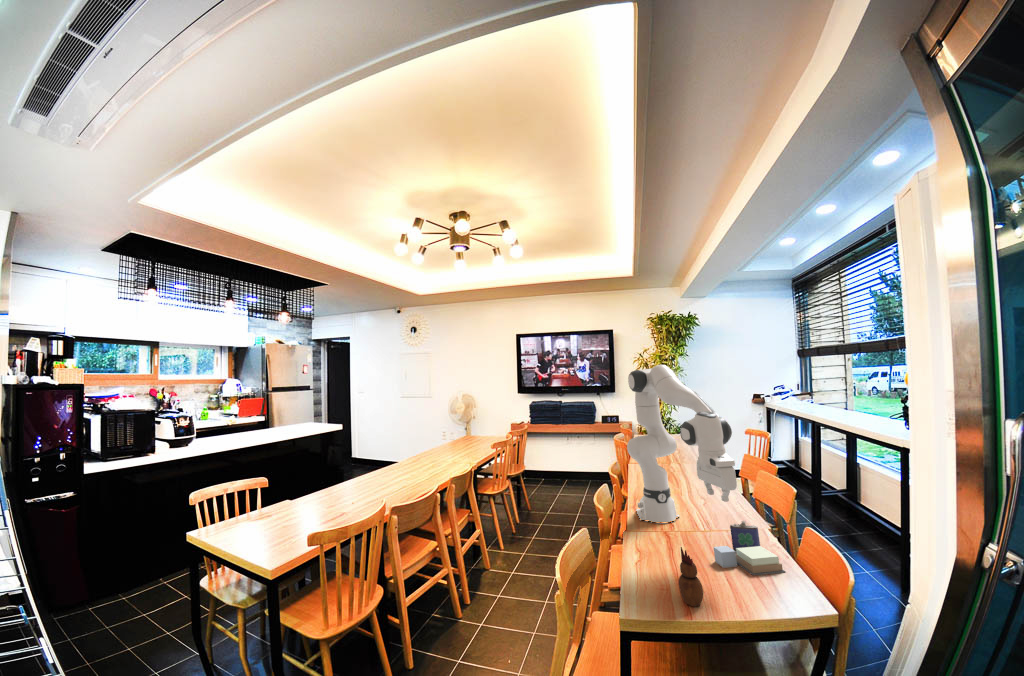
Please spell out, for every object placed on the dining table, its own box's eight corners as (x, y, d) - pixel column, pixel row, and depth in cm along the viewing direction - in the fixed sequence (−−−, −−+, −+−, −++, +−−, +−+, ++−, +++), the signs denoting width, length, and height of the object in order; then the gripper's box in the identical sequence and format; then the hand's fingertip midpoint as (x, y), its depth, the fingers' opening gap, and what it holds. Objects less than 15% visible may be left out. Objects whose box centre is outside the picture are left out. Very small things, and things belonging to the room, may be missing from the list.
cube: (715, 561, 143) (713, 546, 143) (729, 560, 143) (727, 545, 144) (723, 567, 138) (721, 552, 138) (737, 566, 138) (735, 551, 139)
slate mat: (733, 561, 142) (733, 559, 142) (763, 558, 143) (763, 557, 143) (753, 575, 131) (752, 574, 131) (785, 572, 132) (785, 571, 132)
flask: (760, 550, 149) (756, 520, 150) (762, 554, 146) (757, 523, 148) (732, 548, 152) (728, 519, 154) (733, 551, 150) (729, 521, 151)
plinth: (735, 560, 142) (733, 547, 142) (762, 557, 142) (761, 545, 143) (753, 573, 132) (751, 559, 132) (782, 570, 132) (780, 556, 133)
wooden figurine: (677, 598, 121) (671, 545, 122) (695, 596, 121) (689, 543, 123) (688, 610, 114) (682, 554, 116) (708, 608, 114) (701, 552, 116)
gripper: (690, 454, 155) (694, 491, 153) (719, 463, 135) (725, 506, 133) (706, 452, 155) (711, 490, 154) (737, 461, 135) (743, 504, 133)
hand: (717, 497), depth 143 cm, fingers open, 8 cm apart
